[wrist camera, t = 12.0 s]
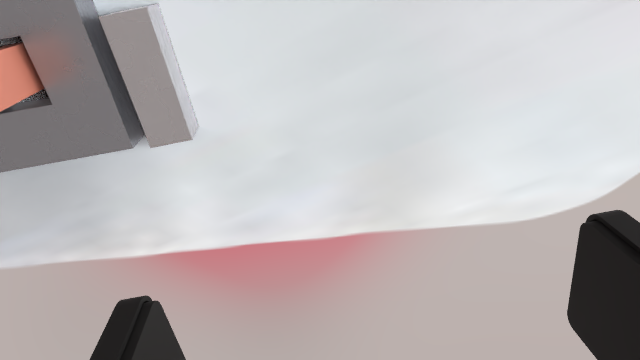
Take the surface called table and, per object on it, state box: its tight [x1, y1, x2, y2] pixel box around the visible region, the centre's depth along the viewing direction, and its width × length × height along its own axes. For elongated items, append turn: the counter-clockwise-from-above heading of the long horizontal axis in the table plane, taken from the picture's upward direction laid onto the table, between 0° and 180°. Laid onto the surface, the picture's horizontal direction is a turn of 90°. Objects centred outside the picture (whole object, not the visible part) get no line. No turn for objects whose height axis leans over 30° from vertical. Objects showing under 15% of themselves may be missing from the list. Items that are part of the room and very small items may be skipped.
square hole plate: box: [0, 0, 144, 172], centre depth 32 cm, size 14×14×3 cm
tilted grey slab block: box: [99, 3, 199, 148], centre depth 33 cm, size 10×3×3 cm, turn 10°
